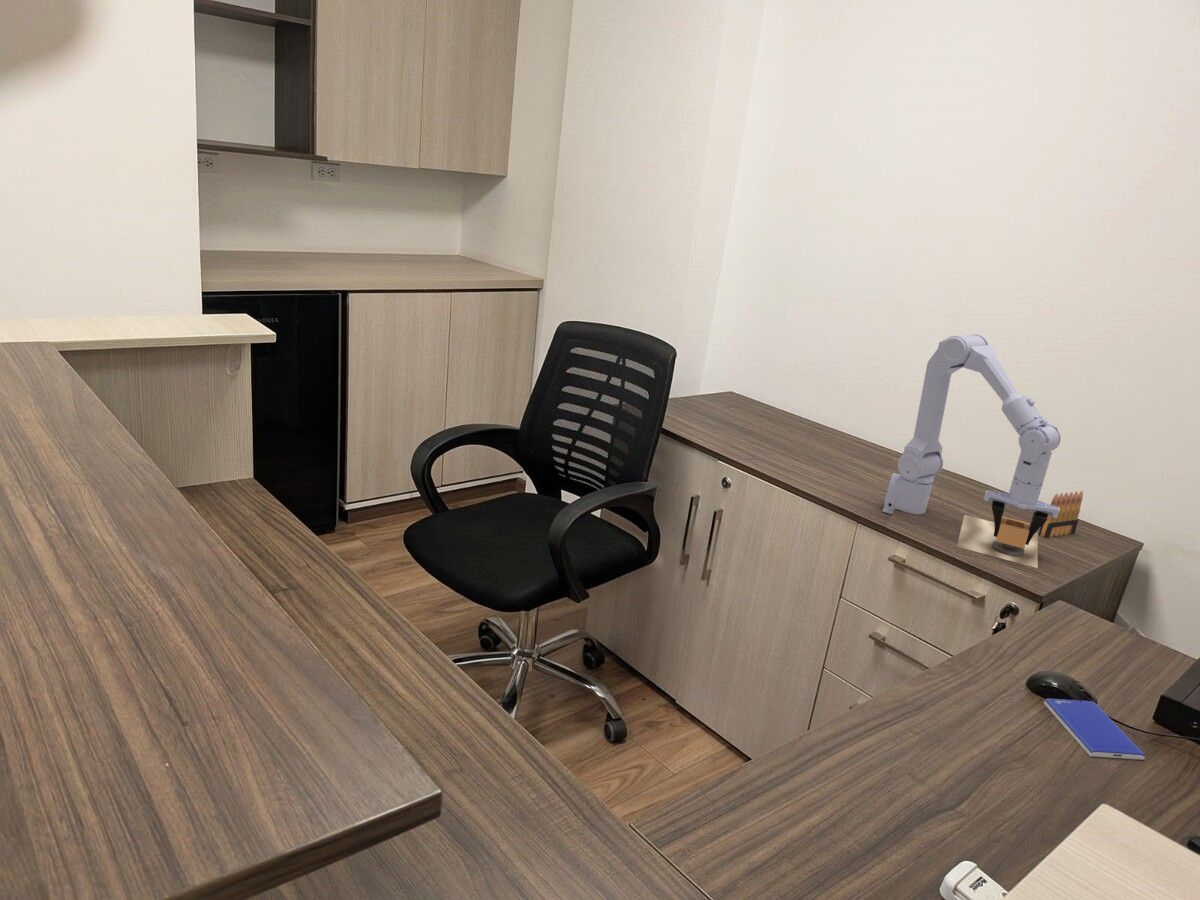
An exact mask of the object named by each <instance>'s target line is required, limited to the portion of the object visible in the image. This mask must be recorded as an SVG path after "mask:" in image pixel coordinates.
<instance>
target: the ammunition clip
mask: <svg viewBox="0 0 1200 900" xmlns="http://www.w3.org/2000/svg"><path fill="white" fill-rule="evenodd" d="M1083 497H1084V492H1083V490H1081V491H1079V493H1078V491H1075V492H1074V493H1073V492H1070V493H1069V494H1068V492H1065V494H1063V493H1062V492H1061V493H1060V494H1058V493H1055V495H1054V496H1053V498H1052V500H1051V503H1050V505H1053V506H1056V507H1059V508H1060V511H1059V514H1058V517H1057V518H1053V517H1052V516H1049V515H1048V517H1047V521H1046V522H1045V523H1044V524H1043V525H1042V526H1041V527H1040V528H1039V530H1038V536H1041V537H1043V538H1044V539H1048V538H1053V537H1059V536H1063V535H1067V536H1068V535H1069V534H1070V535H1074V534H1075V533H1076V530H1077V526H1078V522H1079V519H1078V517H1079V515H1080V511H1081V506H1082V501H1083Z"/></svg>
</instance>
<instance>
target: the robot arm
mask: <svg viewBox="0 0 1200 900" xmlns="http://www.w3.org/2000/svg"><path fill="white" fill-rule="evenodd" d="M962 368H964V369H967V370H971V371H974V372H977V373H980V374H981V376H982V377H983V378H984V379H985V381H986V382H987V383H988V385H989V386H990V387H991V388H992V390H993V391H994V392H995V393H996V395H997V396H998V397H999V398H1000V400H1001V401H1002V404H1001V411H1002V413H1003V414H1004V416H1005V417H1006V419H1007V421H1009V422H1008V423H1010V424H1011V426H1012V427H1013V429H1014V430H1015V432H1016V433H1017V435H1019V436H1018V445H1019V447H1020V453H1019V456H1018V460H1017V464H1016V467H1015V470H1014V474H1013V477H1012V481H1011V485H1010V488H1009V492H1002V491H995V490H990V489H989V490H988V489H986V491H985V493H984V497H983V501H985V502H992V503H991V510H992V515H993V522H994V524H995V530H994V536H995V537H997V535H998V531H999V526H1000V522H1001V518H1002V516H1004V515H1003V514H1004V512H1005V507H1006V506H1009V507H1013V508H1017V509H1020V510H1021V509H1022V510H1024V511H1029V512H1033V515H1032V518H1031V521H1030V525H1029V534H1028V538H1027V541H1026V545H1028V544H1029V542H1030V540H1031V538H1032V537H1033V535H1034V534H1035V533H1037V532H1038V531H1039V530H1040V528H1041V526H1042V525H1043V524H1044V523H1045V522H1046V521H1047V517H1048V515H1049V516H1052V517H1053V518H1057V517H1058V514H1059V511H1060V508H1059V507H1056V506H1053V505H1051V504H1050V503H1046V502H1043V501H1040V500H1039V497H1040V494H1041V491H1042V488H1043V483H1044V481H1045V477H1046V474H1047V471H1048V468H1049V464H1050V460H1051V458H1052V457H1051V456H1052V454H1053V453H1052V452H1053V451H1054V450H1056V449H1057V448H1058V447H1059V446H1060V444H1061V434H1060V431H1059V430H1058V428H1057V427H1056V426H1055V425H1053V424H1051V423H1049V421H1048V419H1047V418H1044V417H1043V416H1042V414H1041V413H1040V411H1039V409H1037V407H1036V405H1035V404H1036V400H1034V398H1032V397H1029V396H1028V395H1027V394H1024V393H1019V392H1018V391H1017V389H1016V387H1015V386H1014V385H1013V382H1012V381H1011V380H1010V377H1009V376H1008V374H1007V373H1006V371H1005V369H1004V368H1003V366H1002V365H1001V362H1000V361H999V359H998V357H997V356H996V353H995V349H994V348H993V347H992V345H990V344H989V341H988V339H986V338H985V337H984V336H983V335H981V334H978V333H976V334H971V335H952V336H951V335H950V336H948V337H947V338H945V339H943V340H941V341H939V343H938V347H937V349H936V350H935V352H934V353H933V355H931V357H930V358H929V360H928V361H927V364H926V368H925V374H924V379H923V385H922V390H921V396H920V400H919V407H918V412H917V416H916V417H917V418H916V423H915V429H914V433H913V437H912V439H910V440H909V441H908V443H906V445H905V446H904V450H903V453H902V455H901V456H900V457H899V459H898V461H897V470H898V472H899V473H896V472H892V474H891V477H890V480H889V484H888V488H887V492H886V494H885V497H884V504H883V508H882V512H883V513H886V514H890V515H893V514H894V512H895V510H899V511H901V512H904V513H908V514H912V515H913V514H914V515H923V514H925V513H926V511H927V507H928V505H929V504H928V503H929V499H930V495H931V493H932V492H931V491H932V488H933V484H934V480H935V477H936V475H938V474H939V473H940V472H941V471H942V469H943V468H944V467H943V466H944V459H943V456H942V455H943V454H942V453H943V446H942V444H941V442H940V441H939V440H940V435H941V429H942V424H943V420H944V413H945V409H946V403H947V399H948V395H949V394H948V393H949V388H950V387H949V386H950V383H951V378H952V374H954V373H956V372H957V371H959V370H961V369H962Z"/></svg>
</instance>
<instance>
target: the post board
mask: <svg viewBox="0 0 1200 900" xmlns="http://www.w3.org/2000/svg"><path fill="white" fill-rule="evenodd" d="M1012 526H1015V525H1012ZM1016 527H1018V526H1016ZM994 530H995V524H994V521H989V520H987V519H982V518H979V517H974V516H970V515H966V514H964V515H963V520H962V523H961V527H960V532H959V536H958V540H957V544H956V547H957V548H961V549H964V550H969V551H972V552H976V553H980V554H983V555H987V556H991V557H995V558H998V559H1002V560H1004V561H1009V562H1013V563H1016V564H1020V565H1024V566H1028V567H1032V568H1035V569H1038V567H1039V565H1038V564H1039V561H1038V559H1039V558H1038V557H1039V556H1038V547H1039V537H1038V536H1039V535H1038V534H1039V532H1036V533H1035V534H1034V535H1033V537H1032V538H1031V540H1030V542H1029V544H1028V545H1026V544H1025V548H1024V549H1023V548H1020V547H1016V546H1012V545H1008V544H1004V543H1001V542H997V541H996V537H995V536H994ZM973 556H974V557H976V556H975V555H973ZM984 559H985V560H988V561H990V560H989V559H986V558H984ZM988 561H987V562H988Z"/></svg>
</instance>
